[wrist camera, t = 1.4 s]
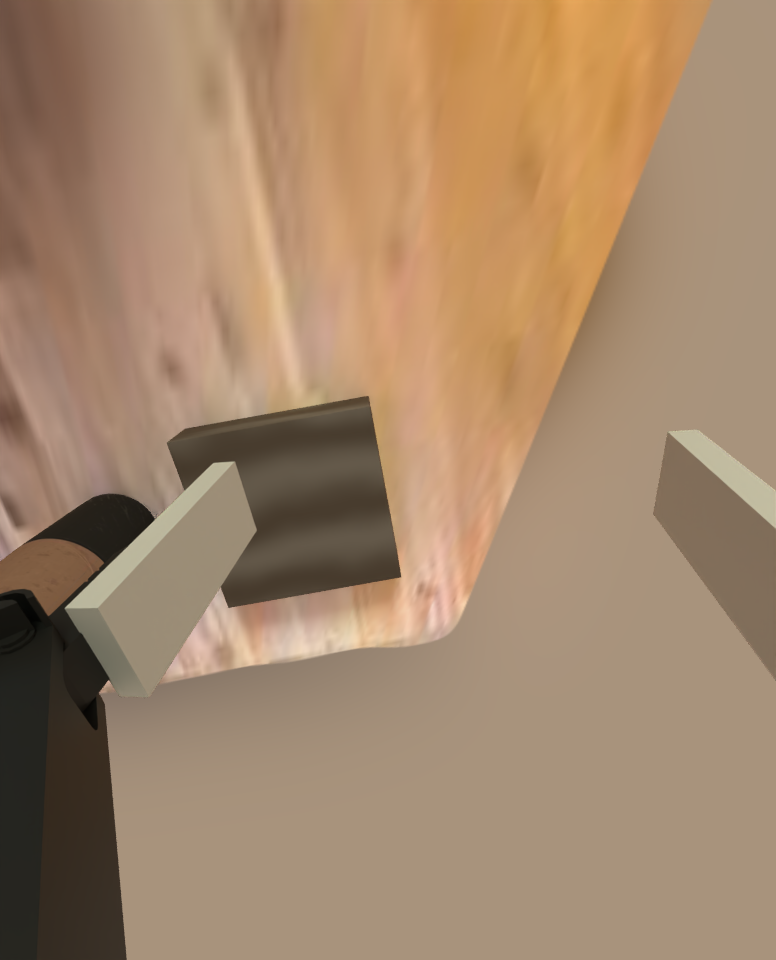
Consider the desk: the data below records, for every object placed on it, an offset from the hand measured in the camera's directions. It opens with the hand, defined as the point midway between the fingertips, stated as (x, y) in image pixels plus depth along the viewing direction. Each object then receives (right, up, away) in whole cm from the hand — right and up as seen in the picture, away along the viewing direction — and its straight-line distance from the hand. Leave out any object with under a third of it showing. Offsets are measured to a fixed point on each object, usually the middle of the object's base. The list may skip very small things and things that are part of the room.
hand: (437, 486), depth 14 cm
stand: (-10, -1, +27) cm, 29 cm away
